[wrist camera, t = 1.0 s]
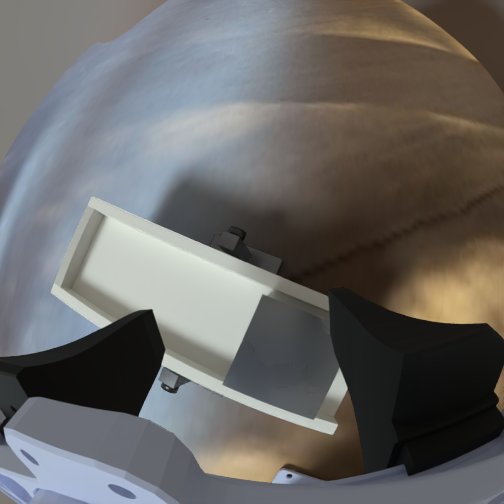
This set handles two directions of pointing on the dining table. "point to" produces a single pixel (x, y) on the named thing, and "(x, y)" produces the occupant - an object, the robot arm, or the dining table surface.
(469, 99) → the dining table surface
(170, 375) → the beam stand
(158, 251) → the balance beam
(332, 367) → the block
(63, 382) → the robot arm
